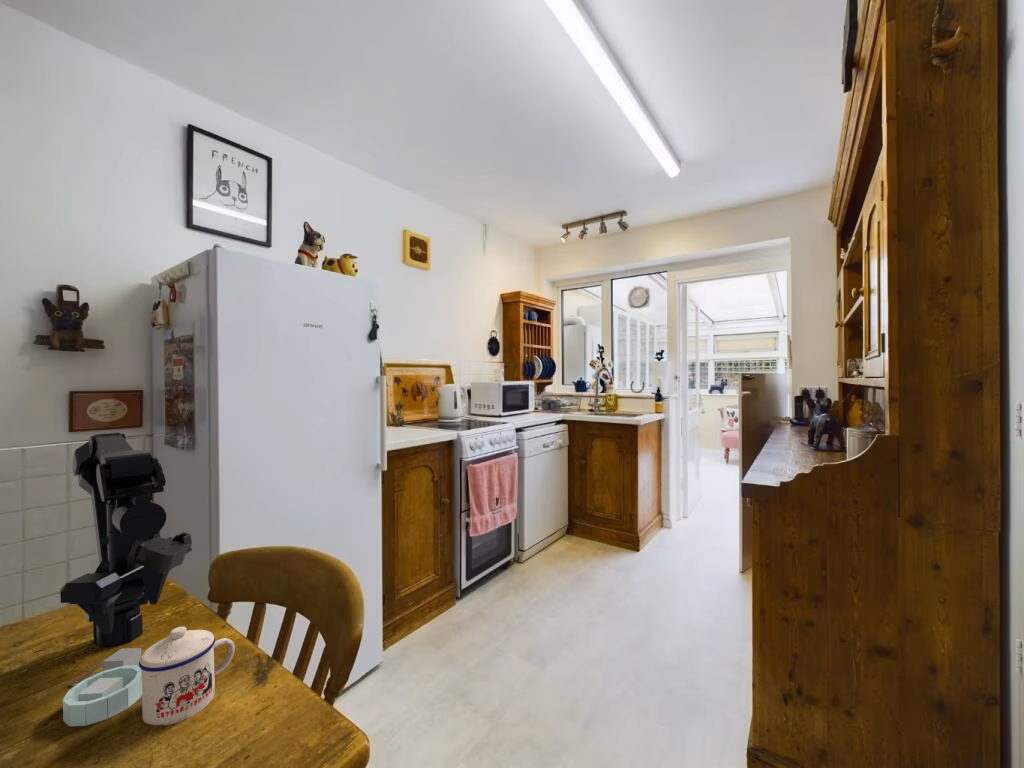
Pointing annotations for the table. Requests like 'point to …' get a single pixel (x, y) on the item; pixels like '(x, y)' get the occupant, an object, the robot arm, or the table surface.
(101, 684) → the light grey cube
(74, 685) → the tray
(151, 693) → the teacup with lid
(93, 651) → the table surface
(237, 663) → the table surface
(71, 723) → the bowl
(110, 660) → the grey cube
